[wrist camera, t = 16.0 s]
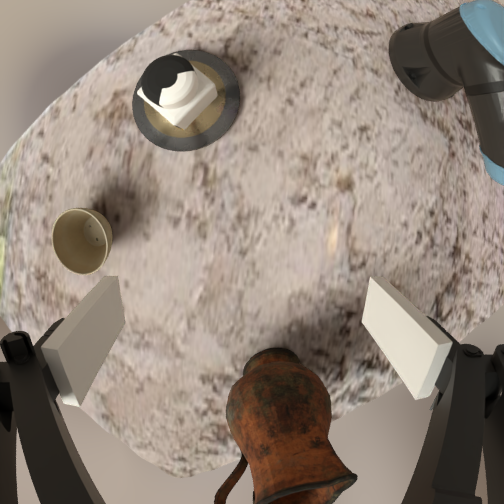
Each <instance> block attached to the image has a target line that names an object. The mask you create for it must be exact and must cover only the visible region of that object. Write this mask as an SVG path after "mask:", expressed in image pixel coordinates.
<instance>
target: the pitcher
mask: <svg viewBox="0 0 504 504" xmlns="http://www.w3.org/2000/svg"><path fill="white" fill-rule="evenodd" d="M331 418H332V413H331V400H330V395H329V393H328V391H327V389H326V388H325V386H324V384H323V382H322V381H321V380H320V378H319V377H318V376H317V375H316V374H314V373H313V372H312V371H310V370H309V369H307V368H306V367H304V366H303V365H301V364H300V363H299V359H298V357H297V356H296V355H295V354H294V353H293V352H292V351H290V350H287V349H283V348H272V349H267V350H264V351H262V352H259V353H258V354H256V355H254V356H253V357H252V358H251V359H250V360H249V361H248V362H247V363H246V365H245V367H244V370H243V377H242V378H240V379H239V380H238V381H237V382H236V383H235V384H234V385H233V386H232V388H231V390H230V393H229V396H228V401H227V406H226V419H227V422H228V425H229V428H230V431H231V434H232V436H233V438H234V440H235V441H236V443H237V445H238V446H239V448H240V450H241V453H242V457H241V460H240V462H239V463H238V465H237V467H236V468H235V469H234V471H233V472H232V474H231V475H230V476H229V477H228V478H227V480H226V481H225V482H224V483H223V485H222V486H221V487H220V488H219V490H218V491H217V493H216V495H215V500H214V504H225V503H226V499H227V496H228V494H229V493H230V491H231V490H232V488H233V487H234V485H235V484H236V483H237V482H238V480H239V479H240V477H241V476H242V474H243V473H244V471H245V469H246V467H247V465H248V463H249V465H250V469H251V473H252V478H253V484H254V491H253V504H332V503H333V502H335V500H336V499H337V498H338V496H339V495H340V494H341V493H342V492H343V491H344V490H346V489H348V488H349V487H350V486H352V485H353V484H354V483H355V482H356V480H357V475H356V474H354V473H352V472H351V471H350V470H349V469H348V468H347V467H346V466H345V465H344V464H343V463H342V461H341V460H340V459H339V457H338V456H337V454H336V453H335V451H334V449H333V447H332V445H331V444H330V442H329V440H328V432H329V428H330V423H331Z"/></svg>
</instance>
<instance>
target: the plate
mask: <svg viewBox="0 0 504 504" xmlns="http://www.w3.org/2000/svg"><path fill="white" fill-rule="evenodd" d="M174 53H178V54H179V55H180V56H182V57H183V58H185V59H187V60H188V61H189V62H190V63H191V64H192V65H193V66H194V67H195V68H197V69H198V70H199V71H200V72H202V73H203V74H204V75H205V76H206V77H208V78H209V79H210V80H211V81H212V82H213V83H214V84H215V86H216V90H217V94H218V96H217V98H216V99H214V100H213V101H212V102H211V103H210V104H209V105H208V106H207V107H206V108H205V109H204V110H203V111H202V112H201V113H200V114H199V115H198V117H197V118H196V119H195V120H194V121H193V122H192V123H191V124H190V125H189V126H188V127H187V128H186V129H185V130H182V129H180V128H178V127H176V126H174V125H173V124H171V123H170V122H169V121H168V120H167V119H166V118H165V117H164V116H162V115H161V114H160V113H159V112H158V111H157V110H155V109H154V108H153V107H152V106H151V105H150V104H149V103H147V102H146V101H145V100H144V99H143V98H142V97H140V96H139V95H138V94H137V91H138V90H139V89H140V88H141V80H142V76H143V75H142V76H141V78H140V80H139V81H138V83H137V86H136V88H135V91H134V95H133V102H132V107H133V115H134V119H135V122H136V124H137V126H138V128H139V130H140V131H141V133H142V134H143V135H144V136H145V137H146V138H147V139H148V140H149V141H151V142H152V143H154V144H155V145H157V146H159V147H161V148H164V149H167V150H172V151H192V150H197V149H200V148H203V147H206V146H208V145H210V144H212V143H213V142H215V141H216V140H218V139H219V138H220V137H221V136H222V135H223V134H224V133H225V132H226V131H227V130H228V129H229V127H230V126H231V125H232V123H233V121H234V119H235V117H236V114H237V112H238V107H239V100H240V91H239V86H238V82H237V79H236V77H235V75H234V73H233V72H232V70H231V69H230V68H229V66H228V65H227V64H226V63H225V62H223V61H222V60H221V59H219V58H218V57H216V56H214V55H212V54H209V53H207V52H203V51H197V50H184V51H178V52H174ZM174 53H171V54H169V55H173V54H174Z"/></svg>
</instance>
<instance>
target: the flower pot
mask: <svg viewBox="0 0 504 504" xmlns="http://www.w3.org/2000/svg"><path fill="white" fill-rule="evenodd" d="M89 227H91V228H89ZM52 246H53V250H54V252H55V255H56V257H57V258H58V260H59V261H60V263H61V264H62V265H63V266H64V267H65V268H66V269H67V270H69V271H71V272H73V273H75V274H78V275H90V274H92V273H95V272H96V271H98V270H99V269H100V268H101V267H102V265H103V264H104V263H105V261H106V259H107V257H108V255H109V253H110V250H111V246H112V230H111V226H110V224H109V222H108V221H107V219H106V218H105V217H104V216H103V215H101V214H100V213H98V212H97V211H94V210H91V209H87V208H73V209H69V210H66V211H65V212H63V213H62V214H61V215H60V216H59V217H58V218H57V219H56V221H55V223H54V226H53V229H52Z"/></svg>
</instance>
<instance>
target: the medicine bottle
mask: <svg viewBox="0 0 504 504" xmlns="http://www.w3.org/2000/svg"><path fill="white" fill-rule="evenodd" d="M137 94H138V95H139V96H140V97H142V98H143V99H144V100H145V101H146V102H147V103H149V104H150V105H151V106H152V107H153V108H154V109H155V110H157V111H158V112H159V113H160V114H161V115H162V116H164V117H165V118H166V119H167V120H168V121H169V122H170V123H171V124H173V125H174V126H176V127H178V128H180V129H182V130H185V129H186V128H187V127H188V126H189V125H190V124H191V123H192V122H193V121H194V120H195V119H196V118H197V117H198V115H199V114H200V113H201V112H202V111H203V110H204V109H205V108H206V107H207V106H208V105H209V104H210V103H211V102H212V101H213V100H214V99H216V98H217V96H218V94H217V90H216V86H215V84H214V83H213V82H212V81H211V80H210V79H209V78H208V77H206V76H205V75H204V74H203V73H202V72H200V71H199V70H198V69H197V68H195V67H194V66H193V65H192V64H191V63H190V62H189V61H188V60H187V59H185V58H183V57H182V56H180V55H179V54H178V53H174V54H173V55H166V56H162V57H160V58H158V59H156V60H154V61H153V62H152V63H150V64H149V66H148V67H147V68H146V69H145V71H144V73H143V76H142V80H141V88H140V89H139V90H138V91H137Z"/></svg>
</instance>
